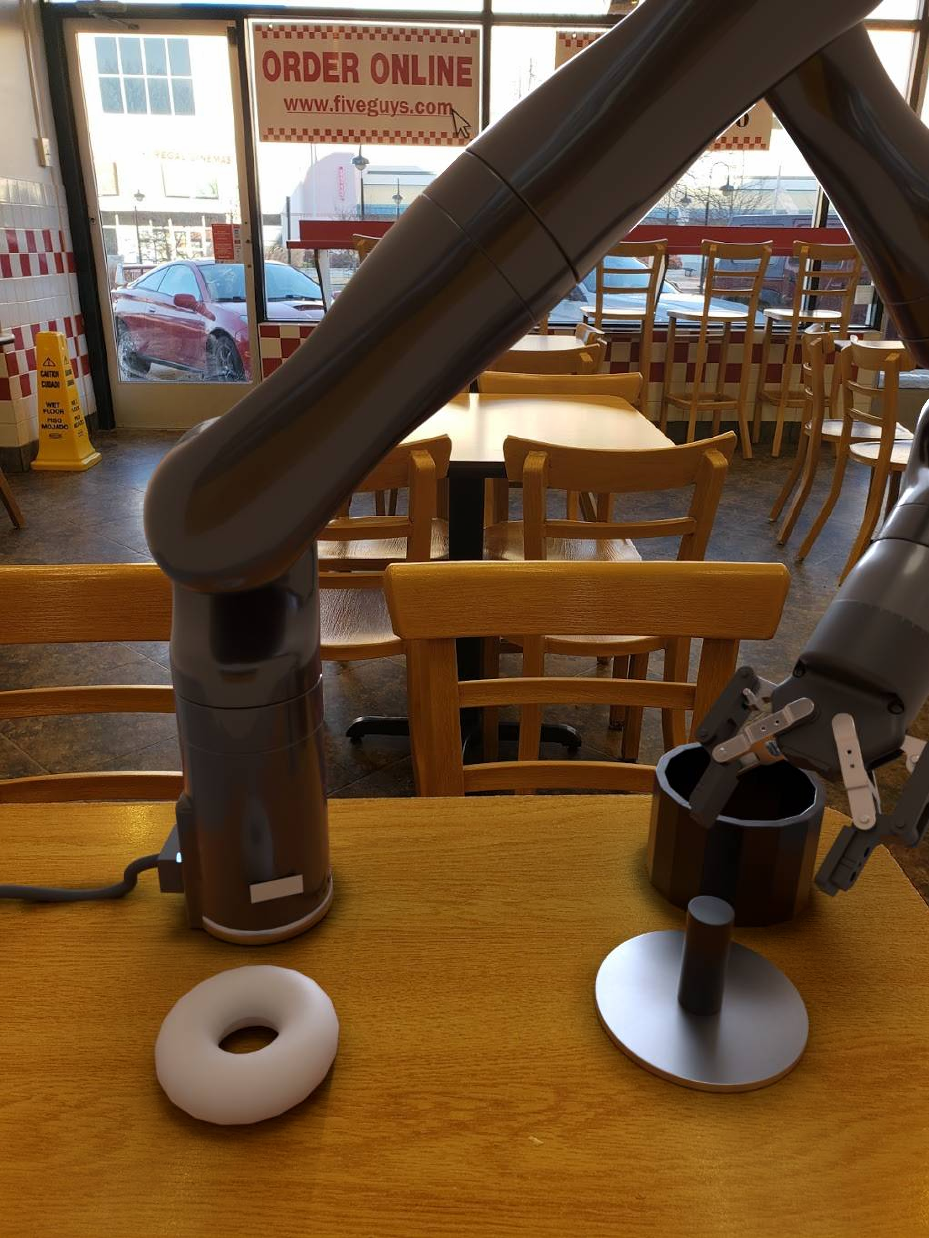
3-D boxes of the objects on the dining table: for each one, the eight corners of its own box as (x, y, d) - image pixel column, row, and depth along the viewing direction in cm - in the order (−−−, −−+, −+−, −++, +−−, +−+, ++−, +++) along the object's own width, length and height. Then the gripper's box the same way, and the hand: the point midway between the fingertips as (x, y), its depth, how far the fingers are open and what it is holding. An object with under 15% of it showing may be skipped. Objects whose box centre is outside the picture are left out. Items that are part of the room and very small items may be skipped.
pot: (662, 932, 63) (674, 825, 60) (634, 835, 74) (643, 739, 71) (831, 935, 63) (852, 827, 60) (779, 837, 74) (794, 741, 71)
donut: (316, 1150, 48) (356, 1002, 57) (313, 1101, 46) (354, 957, 56) (127, 1132, 49) (196, 988, 58) (118, 1083, 47) (191, 944, 56)
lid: (608, 1099, 51) (619, 987, 48) (582, 942, 62) (589, 844, 59) (838, 1103, 51) (862, 990, 48) (769, 945, 62) (785, 847, 59)
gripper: (769, 569, 61) (638, 781, 58) (999, 635, 51) (854, 895, 48) (802, 627, 66) (684, 824, 63) (1017, 697, 56) (887, 935, 53)
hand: (757, 854), depth 56 cm, fingers open, 8 cm apart
